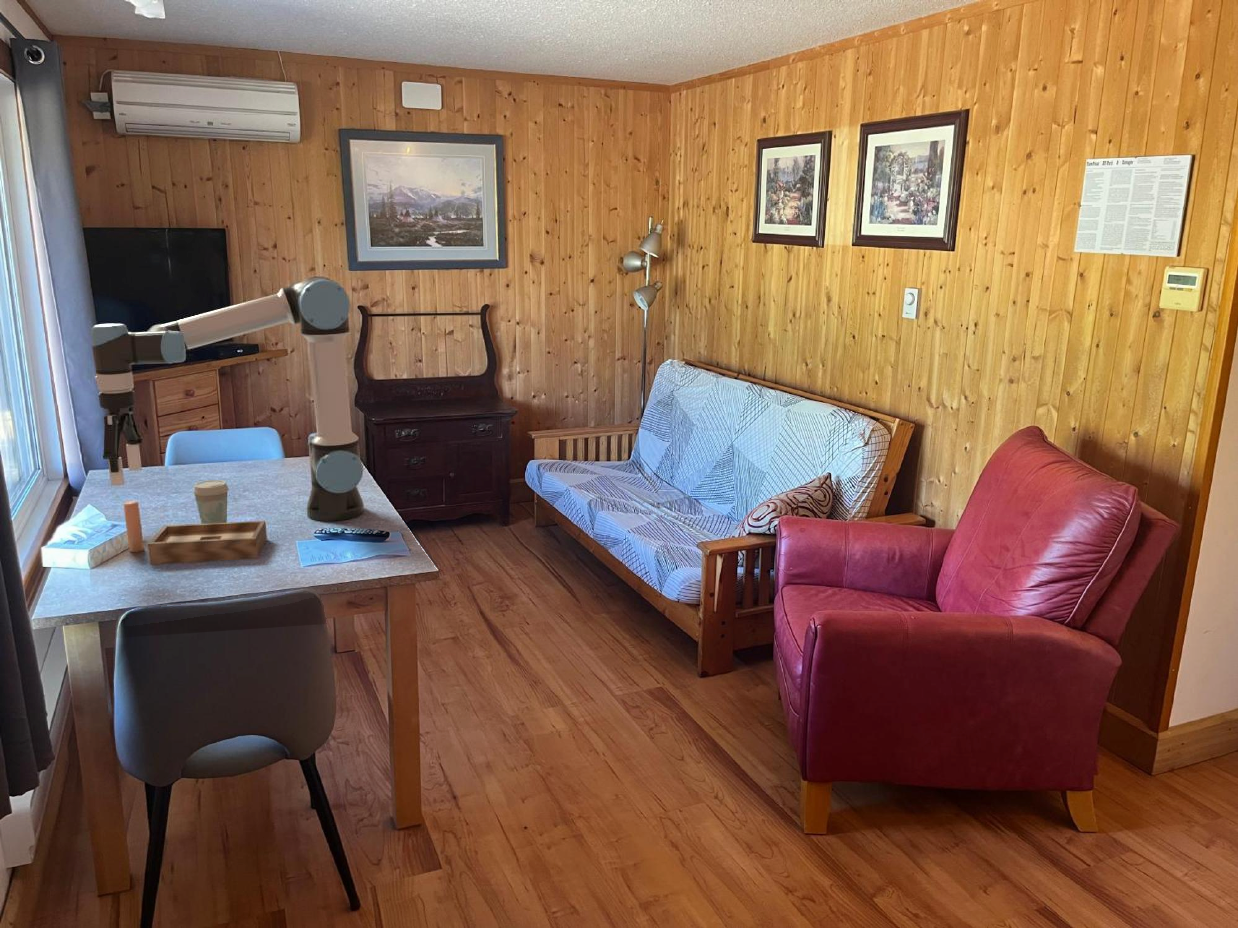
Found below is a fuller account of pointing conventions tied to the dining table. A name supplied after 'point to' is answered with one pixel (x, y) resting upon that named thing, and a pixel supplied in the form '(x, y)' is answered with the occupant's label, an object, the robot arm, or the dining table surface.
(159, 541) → the crate
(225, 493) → the coffee cup
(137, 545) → the peg
